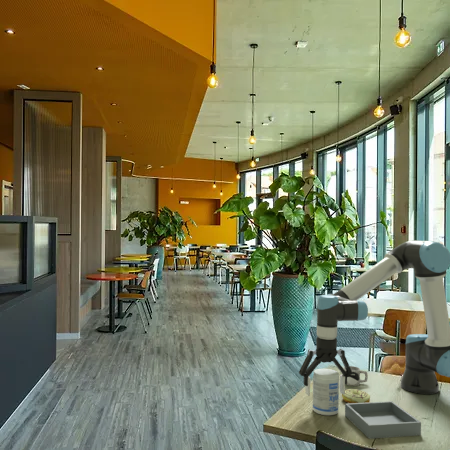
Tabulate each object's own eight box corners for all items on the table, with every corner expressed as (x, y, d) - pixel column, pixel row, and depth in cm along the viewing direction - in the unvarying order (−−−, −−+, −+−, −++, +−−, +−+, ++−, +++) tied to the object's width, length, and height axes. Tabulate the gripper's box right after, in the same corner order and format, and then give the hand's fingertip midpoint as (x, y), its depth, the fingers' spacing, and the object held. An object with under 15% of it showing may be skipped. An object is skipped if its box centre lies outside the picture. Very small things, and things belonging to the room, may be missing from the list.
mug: (345, 385, 204) (345, 370, 204) (343, 380, 210) (343, 365, 210) (368, 387, 203) (369, 371, 203) (366, 381, 209) (366, 367, 209)
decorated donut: (364, 409, 179) (365, 399, 179) (337, 402, 185) (338, 392, 185) (373, 400, 187) (373, 391, 187) (347, 394, 194) (347, 385, 194)
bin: (391, 412, 175) (392, 401, 175) (420, 435, 157) (421, 422, 157) (345, 415, 172) (345, 403, 172) (369, 438, 154) (369, 425, 154)
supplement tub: (334, 418, 169) (335, 377, 169) (309, 413, 174) (309, 373, 174) (341, 409, 178) (342, 370, 178) (317, 404, 182) (317, 366, 182)
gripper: (353, 334, 181) (351, 389, 181) (291, 335, 177) (289, 391, 177) (362, 339, 174) (360, 396, 174) (298, 339, 170) (296, 398, 170)
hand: (325, 393), depth 176 cm, fingers open, 13 cm apart
